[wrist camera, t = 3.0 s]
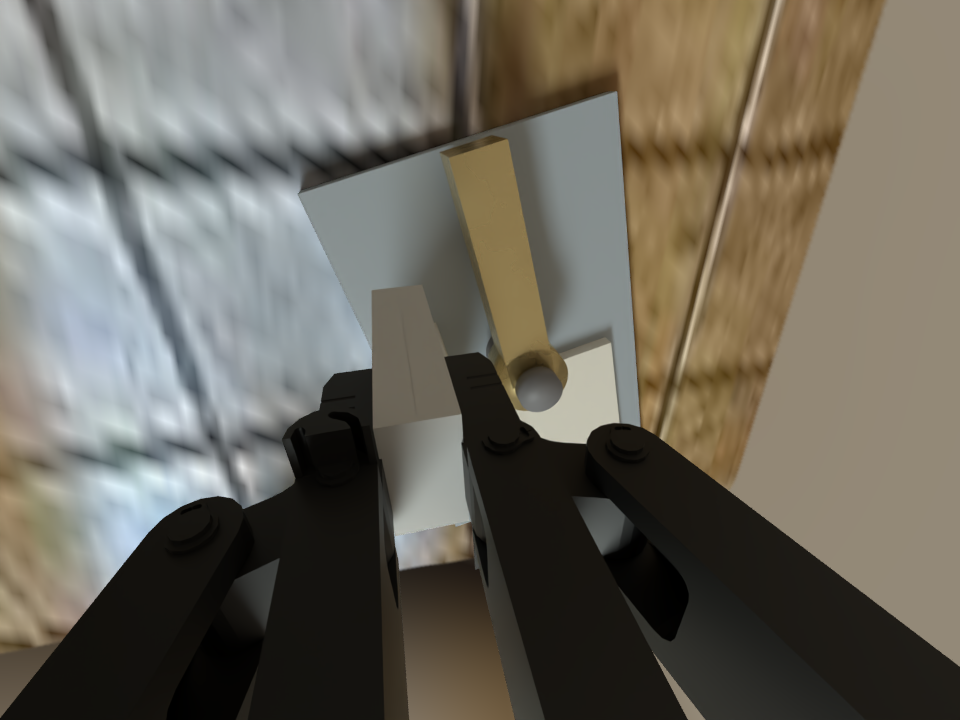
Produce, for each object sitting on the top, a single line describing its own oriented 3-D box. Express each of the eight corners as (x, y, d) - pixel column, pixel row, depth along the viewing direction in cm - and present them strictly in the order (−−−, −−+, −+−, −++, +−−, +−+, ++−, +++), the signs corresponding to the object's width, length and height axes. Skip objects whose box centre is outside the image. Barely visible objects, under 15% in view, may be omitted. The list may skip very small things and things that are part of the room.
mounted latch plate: (300, 190, 21) (256, 248, 12) (607, 91, 22) (760, 82, 13) (455, 520, 35) (484, 650, 27) (636, 452, 36) (718, 558, 28)
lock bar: (555, 373, 27) (572, 396, 25) (496, 394, 27) (507, 420, 25) (507, 129, 19) (525, 133, 17) (423, 157, 19) (430, 163, 17)
